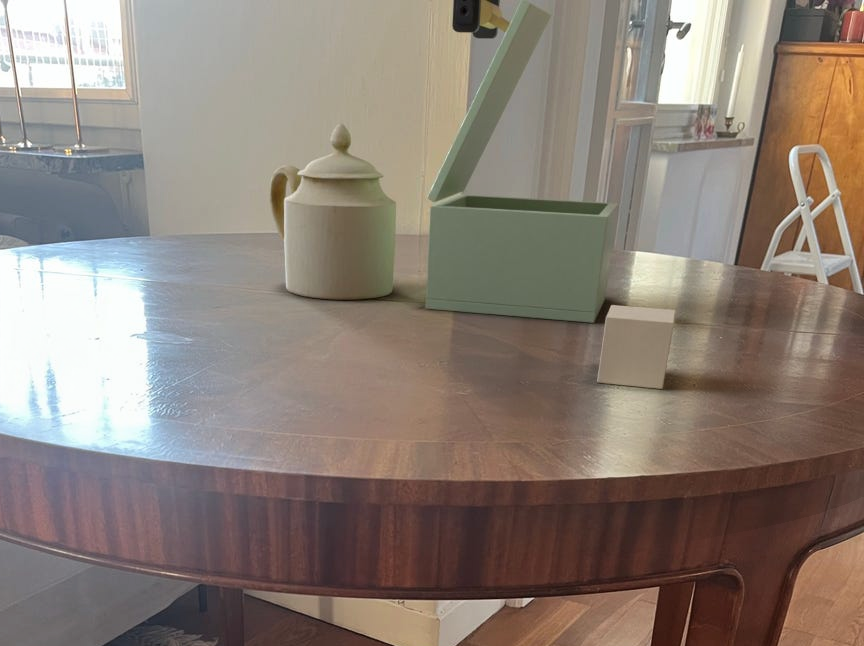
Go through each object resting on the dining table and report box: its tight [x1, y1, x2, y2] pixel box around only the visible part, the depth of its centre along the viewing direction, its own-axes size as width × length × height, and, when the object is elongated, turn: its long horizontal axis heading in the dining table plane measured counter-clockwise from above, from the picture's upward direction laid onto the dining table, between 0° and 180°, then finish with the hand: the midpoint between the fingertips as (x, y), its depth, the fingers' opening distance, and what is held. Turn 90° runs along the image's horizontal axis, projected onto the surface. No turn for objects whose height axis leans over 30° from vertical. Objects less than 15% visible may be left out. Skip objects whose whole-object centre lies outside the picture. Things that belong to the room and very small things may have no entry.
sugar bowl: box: [269, 122, 397, 301], centre depth 94 cm, size 15×11×15 cm
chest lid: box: [426, 0, 552, 203], centre depth 86 cm, size 17×13×5 cm
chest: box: [425, 193, 619, 324], centre depth 91 cm, size 16×13×9 cm
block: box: [596, 304, 676, 390], centre depth 69 cm, size 5×5×5 cm
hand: (475, 35), depth 84 cm, fingers open, 8 cm apart
